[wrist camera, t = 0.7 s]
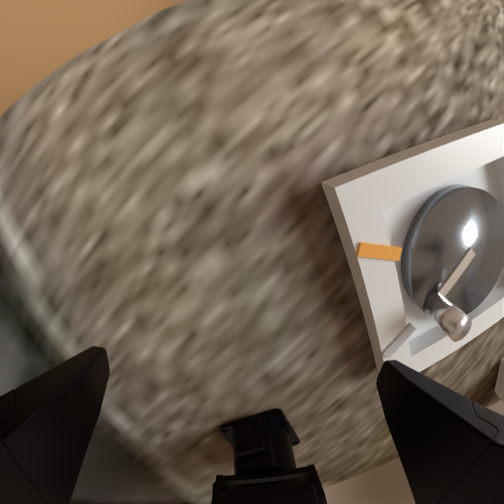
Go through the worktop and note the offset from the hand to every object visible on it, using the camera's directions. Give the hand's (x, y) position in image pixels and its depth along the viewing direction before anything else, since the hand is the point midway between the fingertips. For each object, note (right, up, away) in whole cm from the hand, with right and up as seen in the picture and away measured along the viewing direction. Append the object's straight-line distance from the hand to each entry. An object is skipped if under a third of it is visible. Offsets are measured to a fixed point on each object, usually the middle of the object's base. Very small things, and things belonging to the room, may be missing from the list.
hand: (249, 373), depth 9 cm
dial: (+17, +4, +13) cm, 21 cm away
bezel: (+17, +4, +14) cm, 22 cm away
